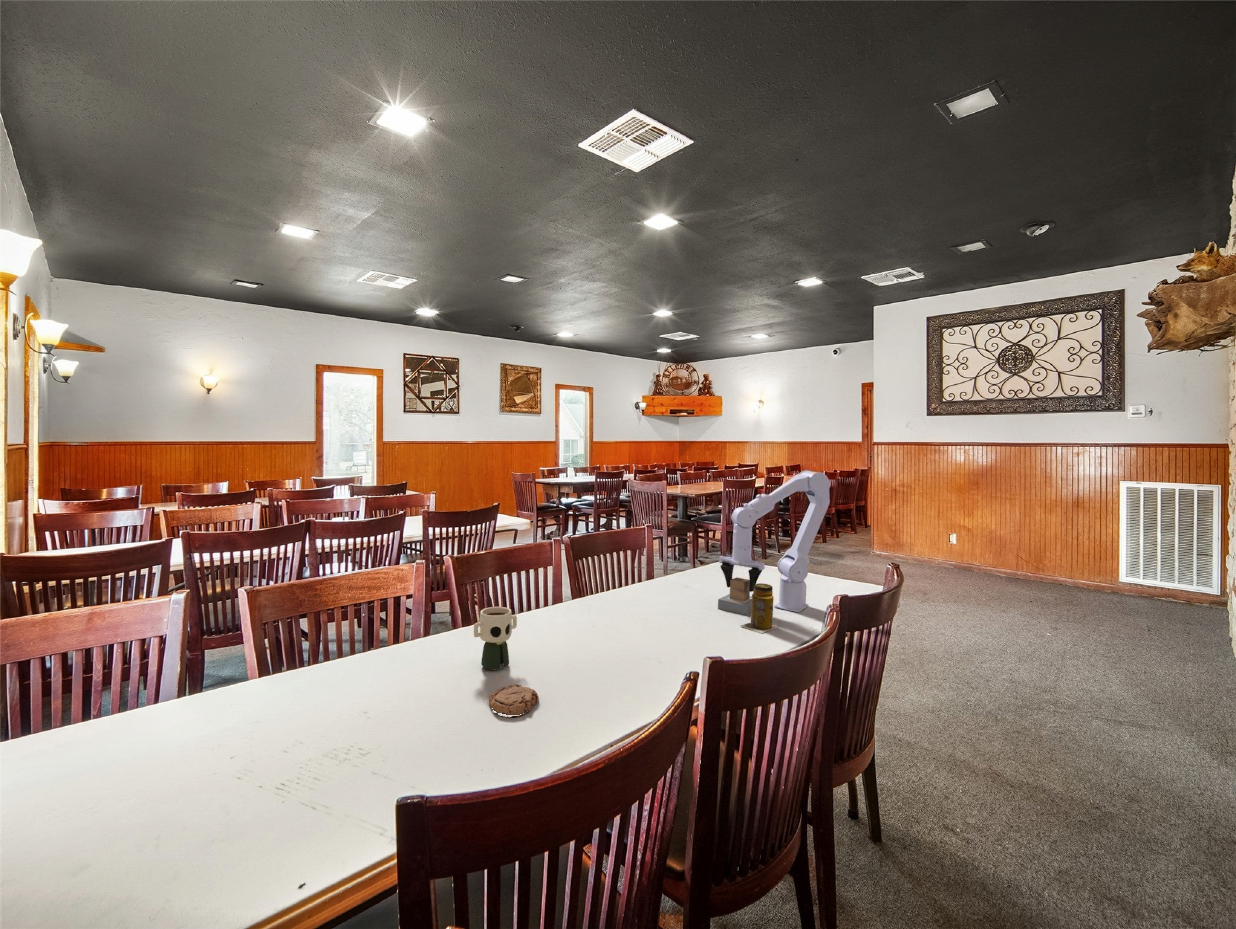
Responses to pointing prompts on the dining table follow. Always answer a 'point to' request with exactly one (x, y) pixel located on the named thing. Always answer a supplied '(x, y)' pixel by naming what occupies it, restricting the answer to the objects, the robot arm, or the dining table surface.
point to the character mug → (495, 635)
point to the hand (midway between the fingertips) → (740, 588)
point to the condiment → (761, 609)
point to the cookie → (513, 699)
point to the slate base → (735, 605)
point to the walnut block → (739, 589)
